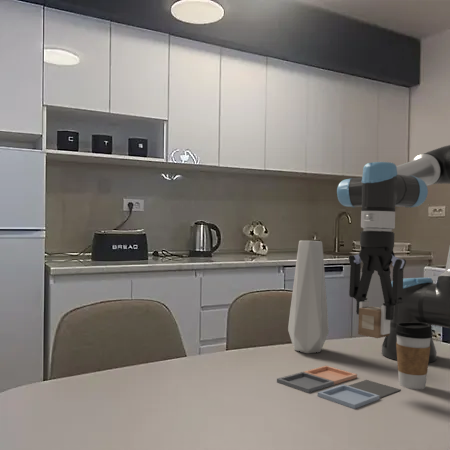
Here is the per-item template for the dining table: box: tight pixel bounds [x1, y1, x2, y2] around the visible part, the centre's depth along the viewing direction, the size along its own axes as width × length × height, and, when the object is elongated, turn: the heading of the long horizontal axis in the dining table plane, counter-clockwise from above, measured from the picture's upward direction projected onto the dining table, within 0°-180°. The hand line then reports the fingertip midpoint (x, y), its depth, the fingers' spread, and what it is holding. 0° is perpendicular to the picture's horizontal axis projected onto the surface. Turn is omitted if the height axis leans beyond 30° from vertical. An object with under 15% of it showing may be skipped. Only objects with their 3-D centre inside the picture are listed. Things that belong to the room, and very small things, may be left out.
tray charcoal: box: [276, 371, 335, 394], centre depth 119 cm, size 9×9×1 cm
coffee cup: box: [395, 322, 434, 390], centre depth 121 cm, size 8×8×15 cm
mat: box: [348, 379, 401, 400], centre depth 117 cm, size 9×9×1 cm
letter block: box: [357, 305, 390, 339], centre depth 116 cm, size 5×5×6 cm
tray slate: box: [316, 383, 380, 410], centre depth 110 cm, size 9×9×1 cm
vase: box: [287, 239, 330, 354], centre depth 152 cm, size 12×12×33 cm
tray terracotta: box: [303, 365, 358, 386], centre depth 126 cm, size 9×9×1 cm
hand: (373, 331), depth 116 cm, fingers closed on letter block, 5 cm apart
